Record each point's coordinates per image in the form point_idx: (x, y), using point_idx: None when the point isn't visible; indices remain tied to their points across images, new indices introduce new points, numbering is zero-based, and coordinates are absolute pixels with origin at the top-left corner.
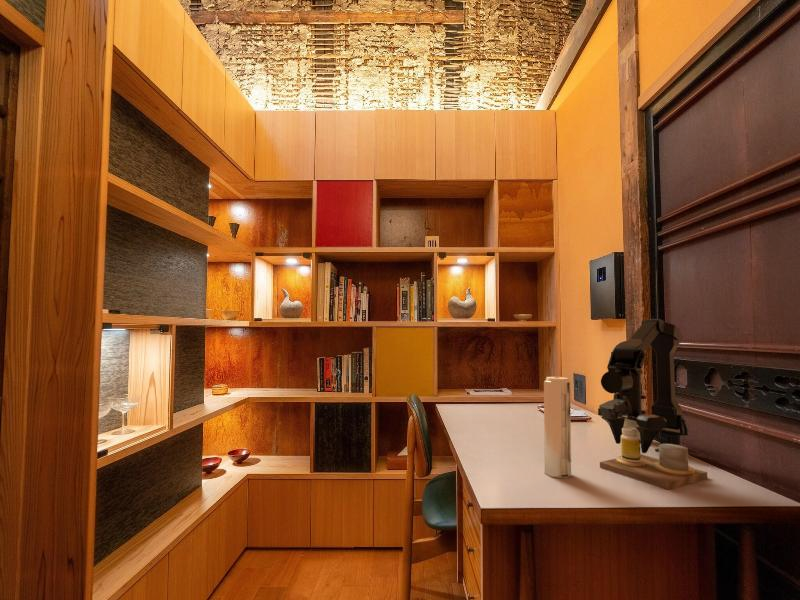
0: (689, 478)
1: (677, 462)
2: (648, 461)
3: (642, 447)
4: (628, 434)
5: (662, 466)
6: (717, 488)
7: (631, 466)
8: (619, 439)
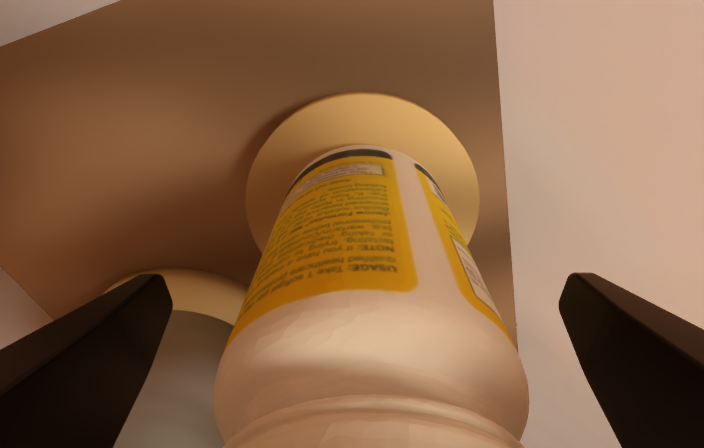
0: None
1: None
2: None
3: (85, 310)
4: (266, 430)
5: (183, 311)
6: None
7: (268, 135)
8: (589, 341)
